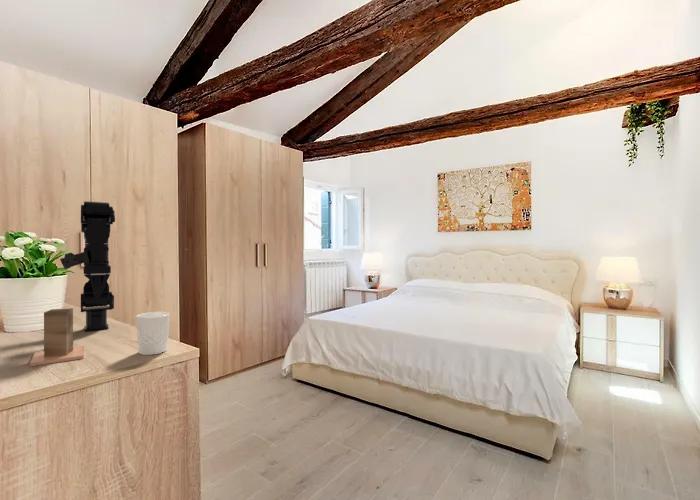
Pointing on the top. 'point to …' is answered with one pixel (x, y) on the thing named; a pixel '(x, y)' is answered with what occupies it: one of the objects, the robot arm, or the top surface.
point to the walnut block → (58, 332)
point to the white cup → (152, 332)
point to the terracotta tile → (57, 357)
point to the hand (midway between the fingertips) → (96, 295)
